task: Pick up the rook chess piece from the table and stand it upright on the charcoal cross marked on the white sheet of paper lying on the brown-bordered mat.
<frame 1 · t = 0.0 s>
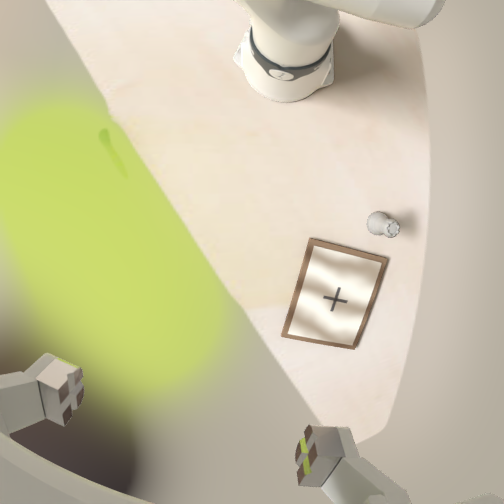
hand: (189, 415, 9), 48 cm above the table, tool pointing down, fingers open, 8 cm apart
rook chess piece: (376, 222, 56), on the table
brown-bordered mat: (334, 297, 59), on the table
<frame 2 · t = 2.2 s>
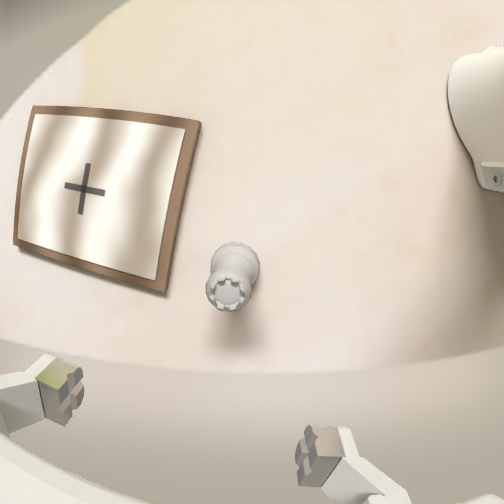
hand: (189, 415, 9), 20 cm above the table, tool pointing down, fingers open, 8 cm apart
rook chess piece: (235, 264, 29), on the table
brown-bordered mat: (90, 188, 28), on the table
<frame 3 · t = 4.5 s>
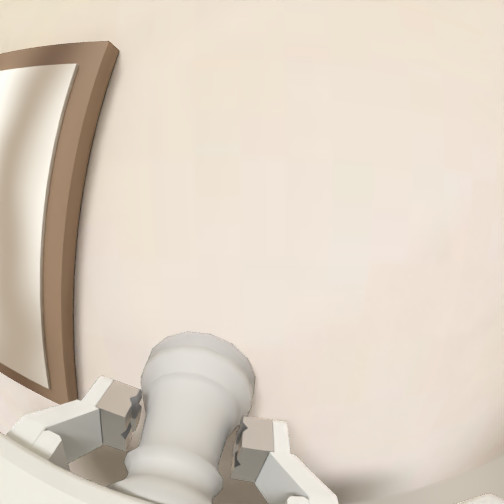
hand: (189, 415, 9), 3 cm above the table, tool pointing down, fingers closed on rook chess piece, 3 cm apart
rook chess piece: (201, 370, 12), on the table, touching gripper
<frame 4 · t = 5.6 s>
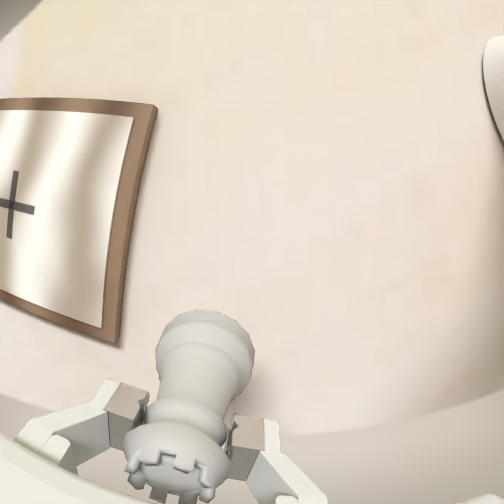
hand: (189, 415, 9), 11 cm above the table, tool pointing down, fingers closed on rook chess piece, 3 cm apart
rook chess piece: (208, 346, 14), point 6 cm above the table, touching gripper
brown-bordered mat: (21, 203, 19), on the table
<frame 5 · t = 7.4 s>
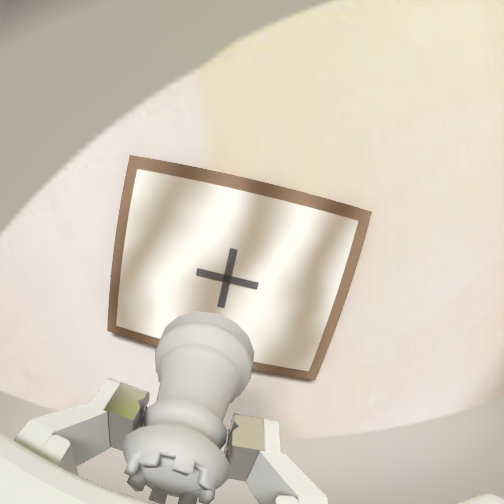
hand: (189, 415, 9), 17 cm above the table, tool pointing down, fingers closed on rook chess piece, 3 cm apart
rook chess piece: (207, 348, 14), point 12 cm above the table, touching gripper
brown-bordered mat: (228, 274, 26), on the table
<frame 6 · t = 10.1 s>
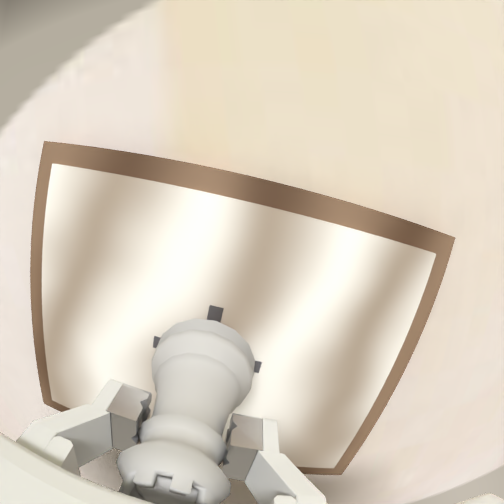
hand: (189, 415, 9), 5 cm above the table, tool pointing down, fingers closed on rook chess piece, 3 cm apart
rook chess piece: (206, 355, 14), point 1 cm above the table, touching gripper, brown-bordered mat
brown-bordered mat: (209, 342, 15), on the table
when the fingers open (5 cm above the table, at t = 10.2 s): rook chess piece stays where it is, resting on brown-bordered mat.
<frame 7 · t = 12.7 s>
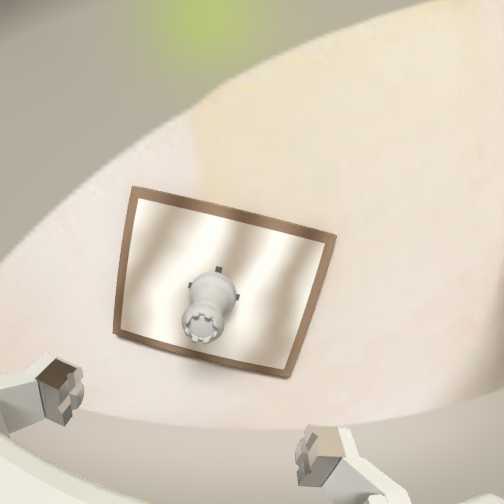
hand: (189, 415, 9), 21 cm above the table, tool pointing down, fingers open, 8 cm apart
rook chess piece: (213, 291, 30), point 1 cm above the table, touching brown-bordered mat
brown-bordered mat: (215, 287, 31), on the table
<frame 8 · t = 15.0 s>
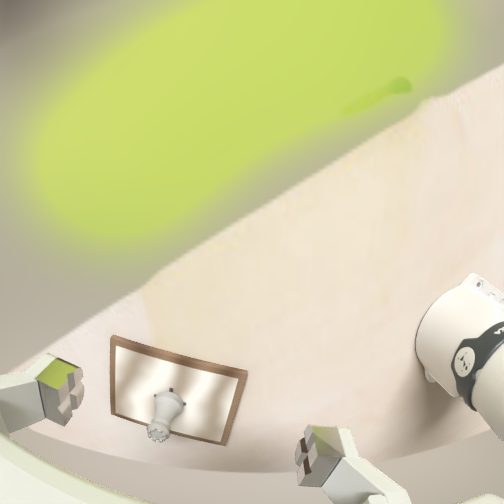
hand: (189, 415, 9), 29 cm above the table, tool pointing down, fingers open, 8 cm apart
rook chess piece: (170, 399, 42), point 1 cm above the table, touching brown-bordered mat
brown-bordered mat: (171, 395, 43), on the table
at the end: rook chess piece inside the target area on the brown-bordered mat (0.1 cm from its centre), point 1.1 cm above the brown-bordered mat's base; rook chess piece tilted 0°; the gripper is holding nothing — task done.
